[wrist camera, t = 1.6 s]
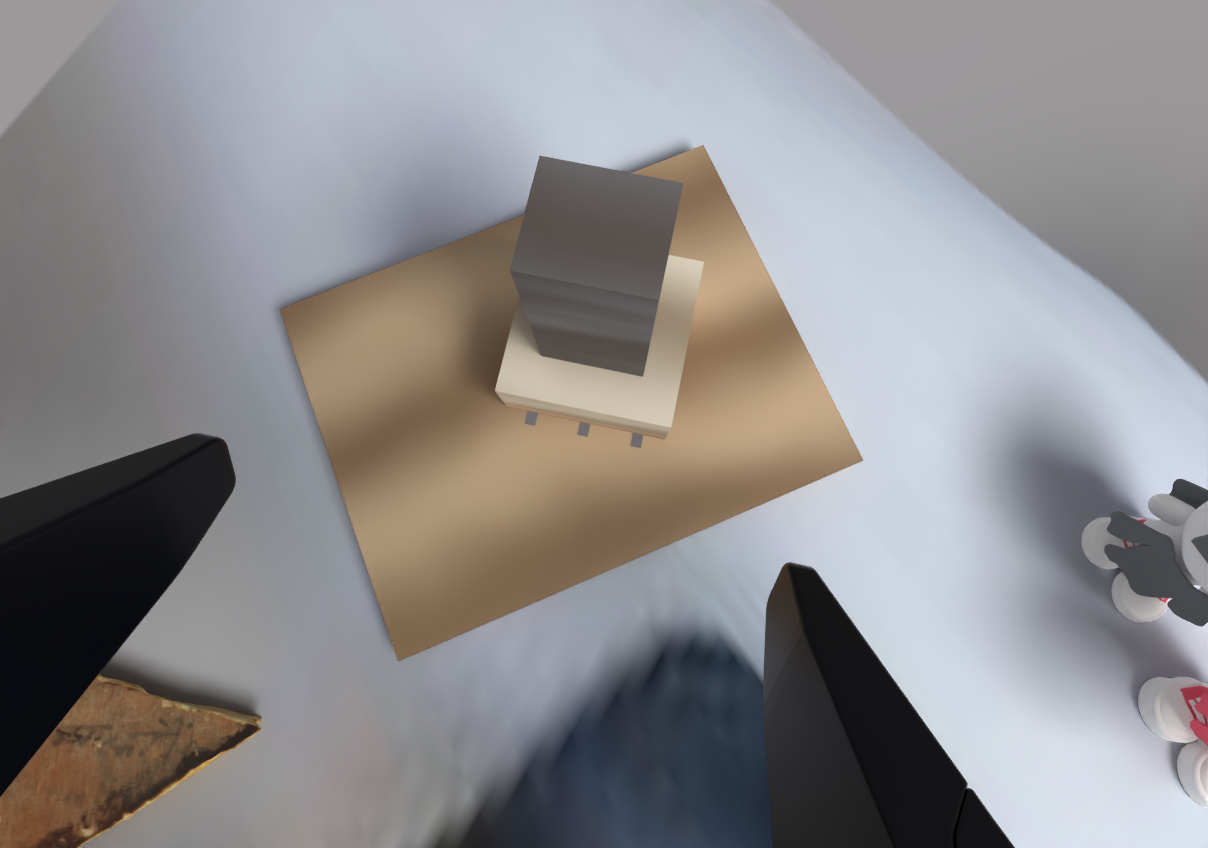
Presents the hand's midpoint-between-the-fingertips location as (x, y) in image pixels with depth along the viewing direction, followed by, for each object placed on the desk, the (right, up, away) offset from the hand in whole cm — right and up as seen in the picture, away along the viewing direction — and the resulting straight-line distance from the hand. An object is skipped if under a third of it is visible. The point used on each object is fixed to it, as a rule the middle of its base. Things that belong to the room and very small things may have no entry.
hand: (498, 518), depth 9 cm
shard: (-17, -9, +13) cm, 23 cm away
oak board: (0, +3, +14) cm, 14 cm away
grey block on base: (+2, +4, +13) cm, 14 cm away
